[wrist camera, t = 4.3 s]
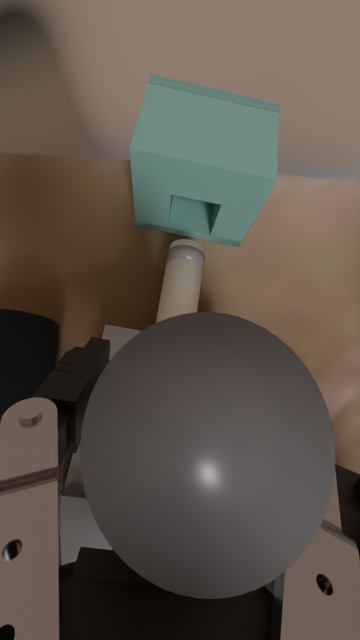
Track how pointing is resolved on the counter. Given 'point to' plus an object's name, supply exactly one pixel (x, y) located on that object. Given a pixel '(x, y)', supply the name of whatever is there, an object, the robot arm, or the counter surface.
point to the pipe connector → (24, 355)
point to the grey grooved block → (73, 500)
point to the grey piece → (206, 447)
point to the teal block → (202, 160)
